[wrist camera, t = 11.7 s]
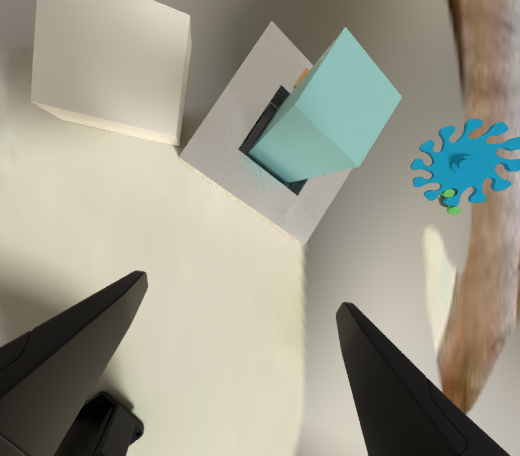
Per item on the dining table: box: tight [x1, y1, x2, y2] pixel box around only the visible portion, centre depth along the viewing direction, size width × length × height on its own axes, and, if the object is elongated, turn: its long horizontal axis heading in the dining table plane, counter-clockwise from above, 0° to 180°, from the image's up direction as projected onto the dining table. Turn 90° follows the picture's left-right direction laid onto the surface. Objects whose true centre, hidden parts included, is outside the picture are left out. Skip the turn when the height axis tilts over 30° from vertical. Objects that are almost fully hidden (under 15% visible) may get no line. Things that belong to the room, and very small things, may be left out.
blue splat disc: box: [411, 119, 520, 215], centre depth 26 cm, size 11×6×10 cm
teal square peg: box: [247, 27, 402, 184], centre depth 16 cm, size 5×5×11 cm
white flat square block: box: [30, 0, 192, 146], centre depth 16 cm, size 9×9×3 cm
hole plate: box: [179, 21, 352, 244], centre depth 20 cm, size 14×14×3 cm
